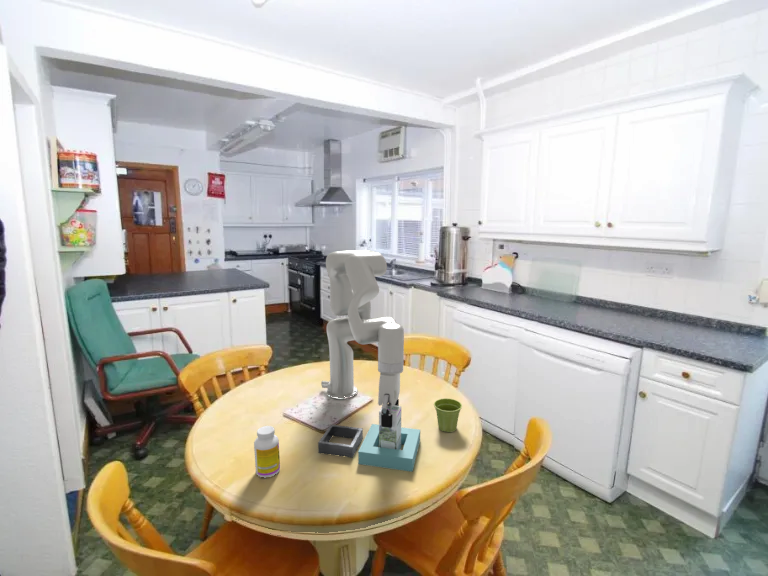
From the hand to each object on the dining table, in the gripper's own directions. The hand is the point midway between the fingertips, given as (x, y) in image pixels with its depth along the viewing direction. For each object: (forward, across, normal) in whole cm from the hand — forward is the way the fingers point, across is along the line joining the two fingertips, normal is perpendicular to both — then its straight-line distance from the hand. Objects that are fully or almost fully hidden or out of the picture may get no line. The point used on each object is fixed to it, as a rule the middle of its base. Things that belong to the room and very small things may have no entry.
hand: (390, 418), depth 119 cm
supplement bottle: (+11, +18, -32) cm, 38 cm away
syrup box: (+11, 0, 0) cm, 11 cm away
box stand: (+11, 0, -16) cm, 19 cm away
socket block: (+11, 0, 0) cm, 11 cm away
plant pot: (+11, -18, +16) cm, 26 cm away
